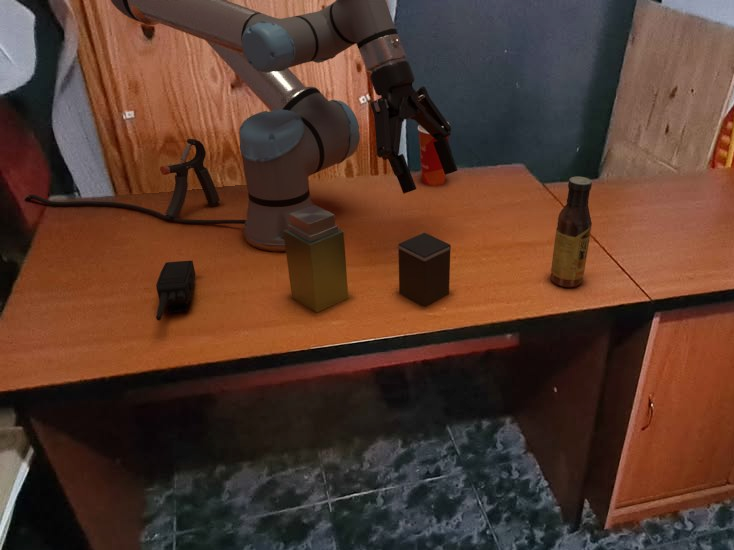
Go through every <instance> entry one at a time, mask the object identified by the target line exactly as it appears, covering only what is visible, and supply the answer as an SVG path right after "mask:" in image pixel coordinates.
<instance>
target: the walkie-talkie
mask: <svg viewBox="0 0 734 550" xmlns="http://www.w3.org/2000/svg"><path fill="white" fill-rule="evenodd" d="M195 280H196V270H195V266H194V261H193V260H180V261H177V260H176V261H168V262H165V263H164V264H163V267H162V269H161V271H160V273H159V276H158V279H157V282H156V284H155V287H156V292H157V296H158V301H159V302H158V308H157V311H156V316H155V319H156V321H158V322H159V321H161V320H162V319H163V318H162V317H163V313H164V311H165V309H166V305H167V310H166V311H167V313H169V314H171V313H173V314H174V313H184V312H187V310H188V308H189V307H188V306H189V302H191V301H192V297H193V296H192V295H193V291H194V287H195Z"/></svg>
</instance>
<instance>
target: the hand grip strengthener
mask: <svg viewBox="0 0 734 550" xmlns="http://www.w3.org/2000/svg"><path fill="white" fill-rule="evenodd" d="M186 143H187V144H186V146H185V148H184V149H183V152H182V154H181V156H180V160H181V161H180V163H176V164H171V165H161V166H159V171H160V173H161V175H163V176H166V175H171V174H175V175H174V182H175V184H174V189H173V192H172V197H171V199H170V202H169V205H168V207H167V209H166V211H165V212H164V215H166V216H165V217H166V218H168V219H170V220H172V219H173V218H178V217H179V216H180V214H181V212H182V209H183V206H184V204H185V199H186V196H187V193H188V188H189V187H188V186H189V184H188V183H189V182H188V175H189V170H190V169H193V172H194V173H195V176H196V178H197V180H198V182H199V184H200V186H201V189H202V191H203V194H204V197H205V199H206V201H207V204H208V206H209V207H212V208H215V207H217V206H219V205H220V201H221V199H220V196H219V194H218V193H219V192H218V191H217V188H216V185H215V183H214V181H213V179H212V177H211V174H210V171H209V170H208V168H207V167H206V166H205V165H204V162H205V159H206V155H207V153H206V149H205V148H206V147H205V146H204V144H203V143H202V141H200V140H198V139H194V138H187V139H186ZM193 146H194V147H195V154H194V157H193V158H192V159H190V160H189V161H187V159H188V156H189V155H190V152H191V151H192V147H193Z"/></svg>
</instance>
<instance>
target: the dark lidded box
mask: <svg viewBox="0 0 734 550" xmlns="http://www.w3.org/2000/svg"><path fill="white" fill-rule="evenodd" d="M397 249H398V293H399V295H401V296H403V297H405V298H406V299H408V300H410V301H412V302H414V303H416V304H418V305H420V306H421V307H423V308H426V307H428V306H429V305H431V304H433V303H435V302H437V301H438V300H440V299H442V298H445V297H446V296H448V295H450V280H451V279H450V278H451V277H450V275H451V250H452V244H450V243H448V242H446V241H443V240H442V239H439V238H438V237H435V236H433V235H431V234H428V233H427V232H422V233H420V234H418V235H415V236H413V237H411V238H407V239H406V240H404V241H401V242H399V243H398V244H397Z"/></svg>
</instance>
